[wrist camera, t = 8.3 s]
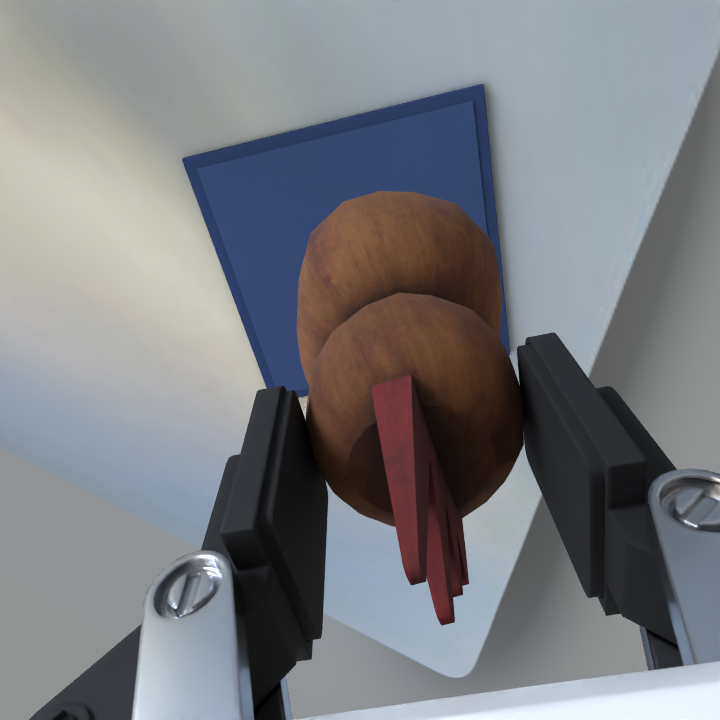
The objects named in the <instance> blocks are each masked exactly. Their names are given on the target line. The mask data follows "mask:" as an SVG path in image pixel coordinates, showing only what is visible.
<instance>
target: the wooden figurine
mask: <svg viewBox="0 0 720 720" xmlns="http://www.w3.org/2000/svg"><path fill="white" fill-rule="evenodd" d="M501 311H502V292H501V284H500V276H499V268H498V260H497V256H496V252H495V248H494V244H493V243H492V242H491V240H490V239H489V238H488V236H487V235H486V234H485V232H484V231H483V230H482V229H481V228H480V227H479V226H478V225H477V224H476V223H475V222H474V221H473V220H472V219H471V218H470V217H469V216H468V215H467V213H466V212H465V211H464V210H463V209H462V208H461V207H460V206H459V205H458V204H455V203H452V202H449V201H446V200H442V199H438V198H434V197H431V196H427V195H423V194H419V193H416V192H394V191H377V192H374V193H371V194H367V195H364V196H360V197H357V198H354V199H350V200H347V201H344V202H342V203H341V204H340V205H339V206H338V207H337V208H336V209H335V210H334V211H333V212H332V213H331V214H330V215H329V216H328V217H327V218H326V219H325V220H323V221H322V222H321V223H320V224H319V225H318V226H317V227H316V228H315V229H314V230H313V231H312V232H311V234H310V238H309V241H308V245H307V249H306V253H305V256H304V260H303V264H302V268H301V272H300V276H299V284H298V308H297V337H298V345H299V353H300V360H301V365H302V368H303V371H304V374H305V377H306V380H307V382H308V384H309V387H310V389H309V394H308V400H307V410H306V424H307V428H308V433H309V437H310V441H311V445H312V449H313V453H314V457H315V460H316V463H317V467H318V469H319V471H320V472H321V474H322V475H323V477H324V478H325V480H326V481H327V483H328V485H329V486H330V488H331V489H332V491H333V492H334V493H335V494H336V495H337V496H338V497H339V498H340V499H342V500H343V501H344V502H346V503H347V504H348V505H350V506H351V507H352V508H353V509H355V510H356V511H357V512H358V513H360V514H362V515H364V516H366V517H369V518H372V519H375V520H378V521H380V522H383V523H385V524H388V525H390V526H394V527H396V530H397V535H398V541H399V546H400V552H401V557H402V563H403V567H404V570H405V573H406V576H407V578H408V580H409V582H410V584H411V585H415V584H419V583H423V582H426V576H427V580H428V584H429V588H430V592H431V596H432V600H433V603H434V607H435V611H436V614H437V617H438V620H439V622H440V624H441V625H445V624H450V623H454V622H455V617H454V604H453V597H456V596H460V595H463V589H462V586H463V585H467V584H469V580H468V570H467V559H466V550H465V541H464V532H463V523H462V518H463V517H465V516H466V515H468V514H469V513H471V512H472V511H474V510H475V509H477V508H478V507H480V506H481V505H483V504H484V503H485V502H487V501H488V499H489V498H490V497H491V496H492V495H493V494H494V493H495V492H496V491H497V490H498V488H499V487H500V486H501V485H502V484H503V483H504V482H505V480H506V478H507V477H508V475H509V474H510V472H511V470H512V468H513V466H514V464H515V462H516V460H517V458H518V456H519V453H520V451H521V449H522V447H523V445H524V435H523V395H522V391H521V388H520V385H519V382H518V380H517V377H516V374H515V371H514V368H513V365H512V363H511V360H510V357H509V355H508V352H507V350H506V347H505V346H504V344H503V343H502V341H501V340H500V327H501Z"/></svg>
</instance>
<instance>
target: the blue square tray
mask: <svg viewBox="0 0 720 720" xmlns="http://www.w3.org/2000/svg"><path fill="white" fill-rule="evenodd" d="M182 161H183V164H184V166H185V169H186V172H187V174H188V177H189V180H190V183H191V185H192V188H193V191H194V193H195V196H196V199H197V201H198V204H199V207H200V209H201V212H202V215H203V218H204V220H205V223H206V226H207V228H208V231H209V234H210V236H211V239H212V242H213V245H214V247H215V250H216V253H217V255H218V258H219V261H220V263H221V266H222V269H223V271H224V274H225V277H226V280H227V282H228V285H229V288H230V290H231V293H232V296H233V298H234V301H235V304H236V306H237V309H238V312H239V315H240V317H241V320H242V323H243V325H244V328H245V331H246V333H247V336H248V339H249V342H250V344H251V347H252V350H253V352H254V355H255V358H256V360H257V363H258V366H259V368H260V371H261V374H262V377H263V379H264V382H265V385H266V387H267V388H272V387H278V386H285V388H286V389H287V391H292V390H294V391H295V392H296V394H297V397H298V398H299V397H304V396H308V394H309V389H310V387H309V384H308V382H307V380H306V377H305V374H304V371H303V368H302V365H301V360H300V353H299V345H298V337H297V308H298V284H299V276H300V272H301V268H302V264H303V260H304V256H305V253H306V249H307V245H308V241H309V238H310V234H311V232H312V231H313V230H314V229H315V228H316V227H317V226H318V225H319V224H320V223H321V222H322V221H323V220H325V219H326V218H327V217H328V216H329V215H330V214H331V213H332V212H333V211H334V210H335V209H336V208H337V207H338V206H339V205H340V204H341V203H342V202H344V201H347V200H350V199H354V198H357V197H360V196H364V195H367V194H371V193H374V192H377V191H394V192H416V193H419V194H423V195H427V196H431V197H434V198H438V199H442V200H446V201H449V202H452V203H455V204H458V205H459V206H460V207H461V208H462V209H463V210H464V211H465V212H466V213H467V215H468V216H469V217H470V218H471V219H472V220H473V221H474V222H475V223H476V224H477V225H478V226H479V227H480V228H481V229H482V230H483V231H484V232H485V234H486V235H487V236H488V238H489V239H490V240H491V242H492V243H493V244H494V248H495V252H496V256H497V260H498V268H499V276H500V284H501V292H502V311H501V327H500V340H501V341H502V343H503V344H504V346H505V347H506V350H507V352H508V355H510V348H509V338H508V328H507V318H506V308H505V298H504V288H503V277H502V267H501V257H500V247H499V237H498V227H497V217H496V207H495V197H494V187H493V177H492V167H491V157H490V147H489V136H488V126H487V116H486V106H485V96H484V86H483V84H480V85H476V86H472V87H468V88H464V89H460V90H456V91H452V92H448V93H444V94H440V95H435V96H431V97H427V98H423V99H419V100H415V101H411V102H407V103H403V104H399V105H395V106H391V107H387V108H383V109H379V110H375V111H371V112H367V113H363V114H359V115H355V116H351V117H347V118H343V119H339V120H335V121H331V122H327V123H323V124H319V125H315V126H311V127H307V128H303V129H299V130H295V131H290V132H286V133H282V134H278V135H274V136H270V137H266V138H262V139H258V140H254V141H250V142H246V143H242V144H238V145H234V146H230V147H226V148H222V149H218V150H214V151H210V152H206V153H202V154H198V155H194V156H190V157H186V158H183V159H182Z"/></svg>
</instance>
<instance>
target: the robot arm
mask: <svg viewBox="0 0 720 720" xmlns="http://www.w3.org/2000/svg"><path fill="white" fill-rule="evenodd" d="M517 357H518V369H519V381H520V388H521V391H522V395H523V430H524V442H525V450H526V455H527V459H528V462H529V464H530V467H531V469H532V471H533V474H534V476H535V478H536V481H537V483H538V485H539V488H540V490H541V492H542V495H543V497H544V499H545V501H546V503H547V506H548V508H549V511H550V513H551V515H552V518H553V520H554V522H555V525H556V527H557V529H558V532H559V534H560V536H561V538H562V541H563V543H564V545H565V548H566V550H567V552H568V555H569V557H570V559H571V562H572V564H573V566H574V569H575V571H576V573H577V576H578V578H579V580H580V582H581V585H582V587H583V589H584V591H585V594H586V595H587V597H589V598H591V597H598V599H599V601H600V603H601V605H602V607H603V610H604V612H605V614H606V616H607V615H614V614H622V616H623V617H625V618H627V619H629V620H631V621H633V622H634V623H636V624H638V625H640V633H641V638H642V642H643V647H644V652H645V656H646V661H647V666H648V670H649V671H642V672H634V673H627V674H619V675H612V676H604V677H597V678H589V679H581V680H574V681H567V682H559V683H551V684H544V685H537V686H530V687H522V688H515V689H508V690H501V691H494V692H486V693H478V694H471V695H465V696H457V697H450V698H442V699H435V700H428V701H421V702H414V703H406V704H399V705H392V706H384V707H378V708H370V709H363V710H356V711H349V712H342V713H335V714H328V715H321V716H314V717H307V718H300V719H293V720H720V474H719V473H715V472H711V471H707V470H699V469H681V470H677V469H676V468H675V467H674V465H673V464H672V463H671V461H670V460H669V459H668V458H667V456H666V455H665V454H664V452H663V451H662V450H661V448H660V447H659V446H658V445H657V443H656V442H655V441H654V439H653V438H652V437H651V436H650V434H649V433H648V432H647V431H646V429H645V428H644V427H643V425H642V424H641V423H640V421H639V420H638V419H637V418H636V416H635V415H634V414H633V412H632V411H631V410H630V408H629V407H628V406H627V405H626V403H625V402H624V401H623V400H622V398H621V397H620V396H619V394H618V393H617V392H616V391H615V390H614V389H613V388H612V387H609V386H607V387H601V388H595V387H594V386H593V384H592V383H591V381H590V380H589V379H588V377H587V376H586V375H585V373H584V372H583V370H582V369H581V368H580V366H579V365H578V363H577V362H576V361H575V359H574V358H573V357H572V355H571V354H570V352H569V351H568V350H567V348H566V347H565V345H564V344H563V343H562V341H561V340H560V339H559V337H558V336H557V334H555V333H548V334H543V335H538V336H533V337H528V338H526V342H525V345H523V346H518V348H517ZM327 512H328V491H327V485H326V481H325V478H324V477H323V475H322V474H321V472H320V471H319V469H318V467H317V463H316V460H315V457H314V453H313V449H312V445H311V441H310V437H309V433H308V428H307V424H306V421H305V418H304V415H303V412H302V409H301V406H300V403H299V400H298V397H297V394H296V392H295V391H294V390H292V391H287V389H286V388H285V386H278V387H272V388H267V389H262V390H258V391H257V393H256V397H255V401H254V405H253V409H252V412H251V416H250V420H249V424H248V427H247V431H246V435H245V439H244V443H243V446H242V450H241V454H239V455H233V456H231V457H230V458H229V459H228V461H227V463H226V467H225V470H224V474H223V477H222V480H221V484H220V487H219V491H218V494H217V497H216V501H215V504H214V508H213V511H212V515H211V518H210V521H209V525H208V528H207V532H206V535H205V538H204V542H203V545H202V549H201V551H196V552H192V553H189V554H187V555H184V556H182V557H180V558H178V559H176V560H175V561H173V562H172V563H170V564H169V565H168V566H166V567H165V568H164V569H163V570H162V571H161V572H160V573H159V574H158V575H157V576H156V578H155V579H154V580H153V582H152V583H151V585H150V587H149V588H148V590H147V593H146V597H145V600H144V605H143V615H142V624H141V625H140V626H139V627H137V628H136V629H135V630H134V631H133V632H132V633H130V634H129V635H128V636H127V637H125V638H124V639H123V640H122V641H121V642H119V643H118V644H117V645H116V646H115V647H114V648H112V649H111V650H110V651H109V652H108V653H106V654H105V655H104V656H103V657H102V658H101V659H100V660H98V661H97V662H96V663H95V664H93V665H92V666H91V667H90V668H89V669H87V670H86V671H85V672H84V673H83V674H82V675H80V676H79V677H78V678H77V679H75V680H74V681H73V682H72V683H71V684H70V685H68V686H67V687H66V688H65V689H64V690H62V691H61V692H60V693H59V694H58V695H56V696H55V697H54V698H53V699H52V700H51V701H49V702H48V703H47V704H46V705H45V706H43V707H42V708H41V709H40V710H39V711H37V712H36V713H35V714H34V715H33V716H32V717H31V718H30V719H29V720H292V713H291V707H290V700H289V693H288V686H287V681H286V677H285V676H286V674H287V673H288V672H289V671H290V670H291V669H292V668H293V667H294V666H295V665H296V661H303V660H310V659H312V643H313V640H314V639H320V638H321V635H322V623H323V602H324V579H325V557H326V534H327Z"/></svg>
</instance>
